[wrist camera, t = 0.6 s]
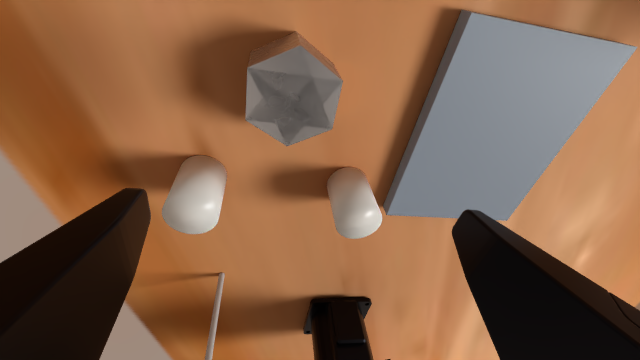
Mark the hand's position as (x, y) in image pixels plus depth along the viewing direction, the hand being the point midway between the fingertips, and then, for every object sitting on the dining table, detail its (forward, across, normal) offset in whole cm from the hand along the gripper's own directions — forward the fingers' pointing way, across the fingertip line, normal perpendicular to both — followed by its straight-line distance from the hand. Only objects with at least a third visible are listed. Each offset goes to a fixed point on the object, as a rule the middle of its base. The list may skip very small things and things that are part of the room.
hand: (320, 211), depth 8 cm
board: (+11, -14, +2) cm, 18 cm away
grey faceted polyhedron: (+11, 0, 0) cm, 11 cm away
